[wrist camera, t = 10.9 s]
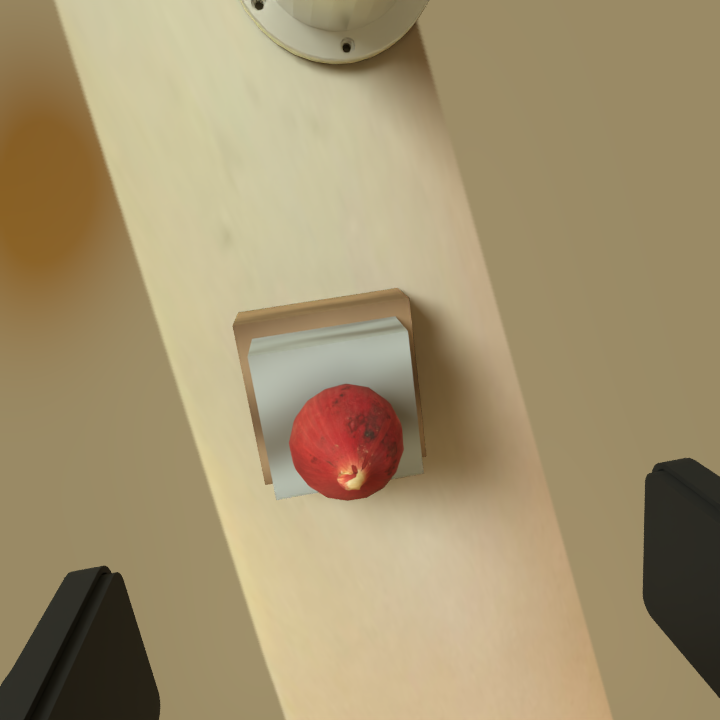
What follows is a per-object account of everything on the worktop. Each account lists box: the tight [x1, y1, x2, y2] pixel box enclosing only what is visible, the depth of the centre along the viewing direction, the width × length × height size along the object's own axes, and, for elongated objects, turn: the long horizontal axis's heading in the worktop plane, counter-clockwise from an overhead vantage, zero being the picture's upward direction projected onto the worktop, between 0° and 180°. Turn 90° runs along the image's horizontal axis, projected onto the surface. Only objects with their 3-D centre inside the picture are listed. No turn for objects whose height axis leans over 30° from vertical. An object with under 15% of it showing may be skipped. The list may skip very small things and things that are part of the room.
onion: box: [289, 384, 404, 501], centre depth 29 cm, size 6×6×8 cm
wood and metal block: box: [233, 288, 426, 500], centre depth 37 cm, size 11×11×8 cm
